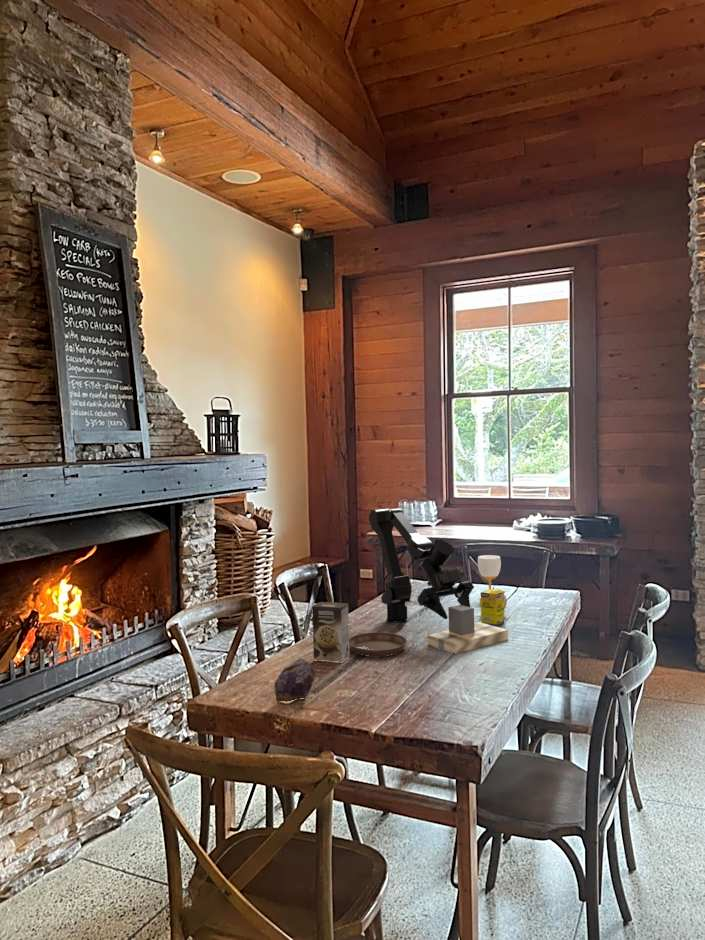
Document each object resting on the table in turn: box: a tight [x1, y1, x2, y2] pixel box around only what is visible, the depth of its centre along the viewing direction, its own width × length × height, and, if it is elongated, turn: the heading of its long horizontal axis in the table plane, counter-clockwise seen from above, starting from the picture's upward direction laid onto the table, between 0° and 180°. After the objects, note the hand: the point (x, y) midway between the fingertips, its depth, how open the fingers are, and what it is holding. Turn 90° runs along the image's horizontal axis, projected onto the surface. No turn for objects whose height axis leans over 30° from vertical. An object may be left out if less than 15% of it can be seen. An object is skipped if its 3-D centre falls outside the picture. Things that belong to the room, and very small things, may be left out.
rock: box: [274, 658, 316, 702], centre depth 179 cm, size 12×9×10 cm
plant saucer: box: [349, 631, 408, 657], centre depth 217 cm, size 18×18×3 cm
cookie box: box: [311, 601, 350, 662], centre depth 208 cm, size 9×6×16 cm
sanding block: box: [447, 604, 475, 637], centre depth 219 cm, size 6×5×8 cm
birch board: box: [427, 621, 509, 655], centre depth 221 cm, size 22×12×3 cm, turn 125°
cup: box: [477, 554, 502, 589], centre depth 276 cm, size 9×9×16 cm
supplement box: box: [480, 588, 505, 627], centre depth 241 cm, size 6×6×11 cm
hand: (458, 616), depth 220 cm, fingers open, 9 cm apart
